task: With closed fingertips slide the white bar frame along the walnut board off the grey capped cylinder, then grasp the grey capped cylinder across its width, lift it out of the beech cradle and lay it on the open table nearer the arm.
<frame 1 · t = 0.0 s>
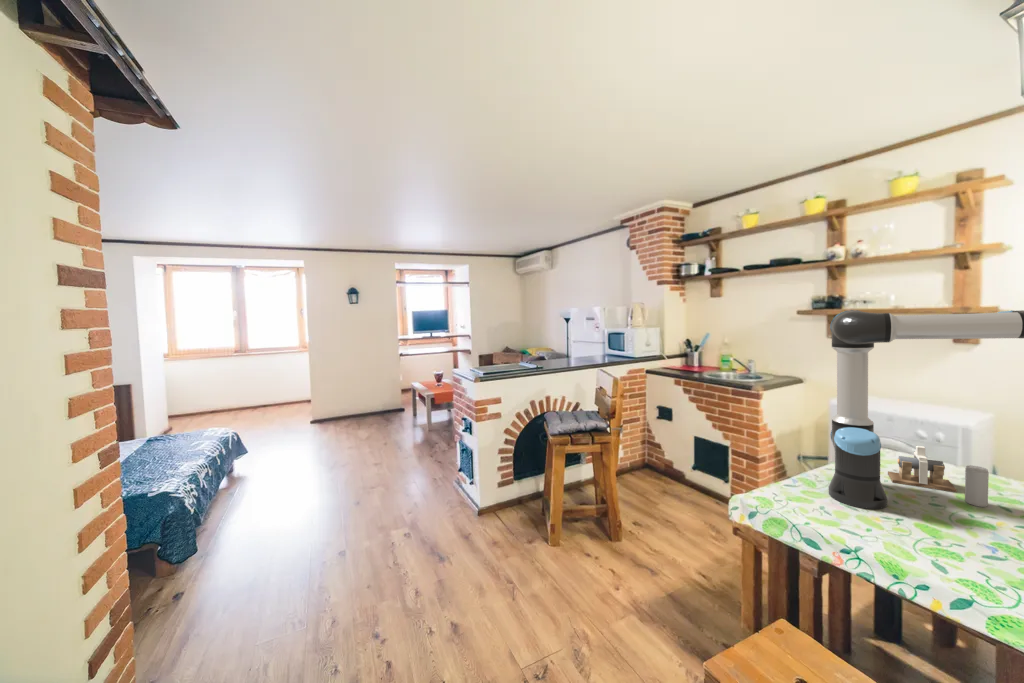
white bar frame: (920, 463, 141), point 7 cm above the table, slide at 0.0 cm
cradle board: (920, 482, 142), on the table
grey capped cylinder: (920, 469, 141), point 5 cm above the table, touching cradle board
beverage can: (976, 504, 125), on the table
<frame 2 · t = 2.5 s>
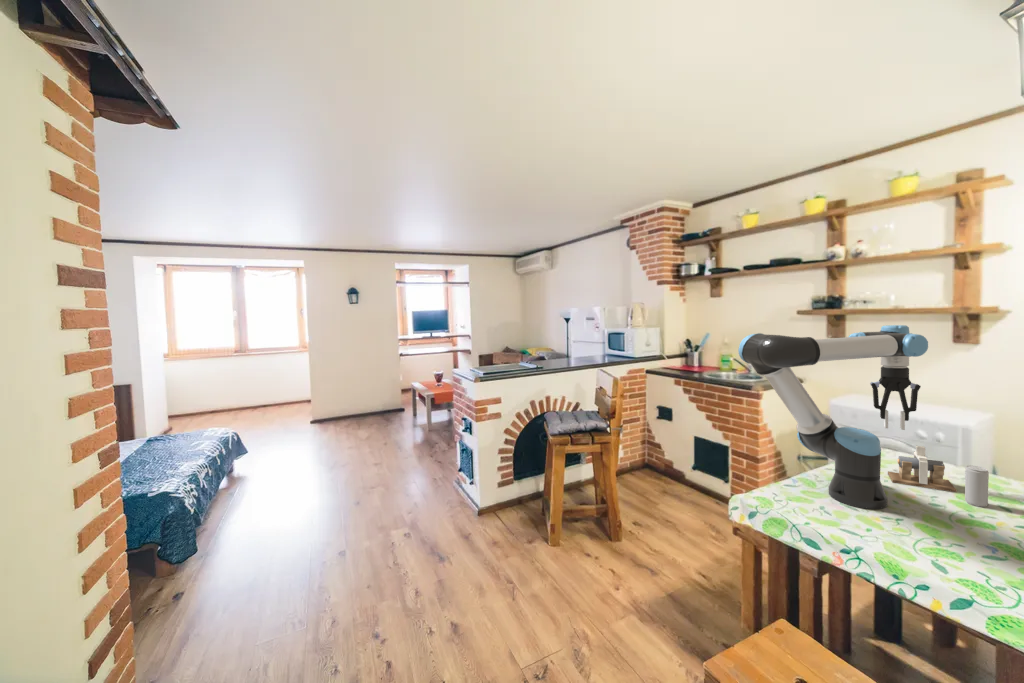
hand: (894, 428, 145), 20 cm above the table, fingers open, 4 cm apart
nothing on the table moved.
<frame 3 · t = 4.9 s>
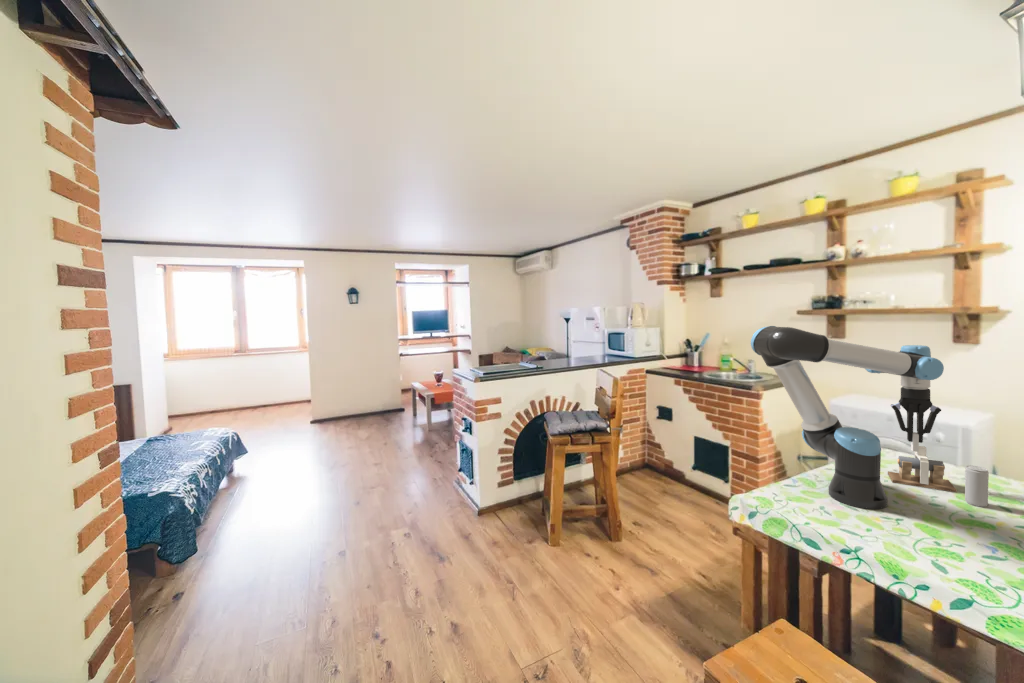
hand: (914, 450, 142), 12 cm above the table, fingers closed
white bar frame: (921, 463, 141), point 7 cm above the table, slide at 0.3 cm, touching gripper
everything else where it was.
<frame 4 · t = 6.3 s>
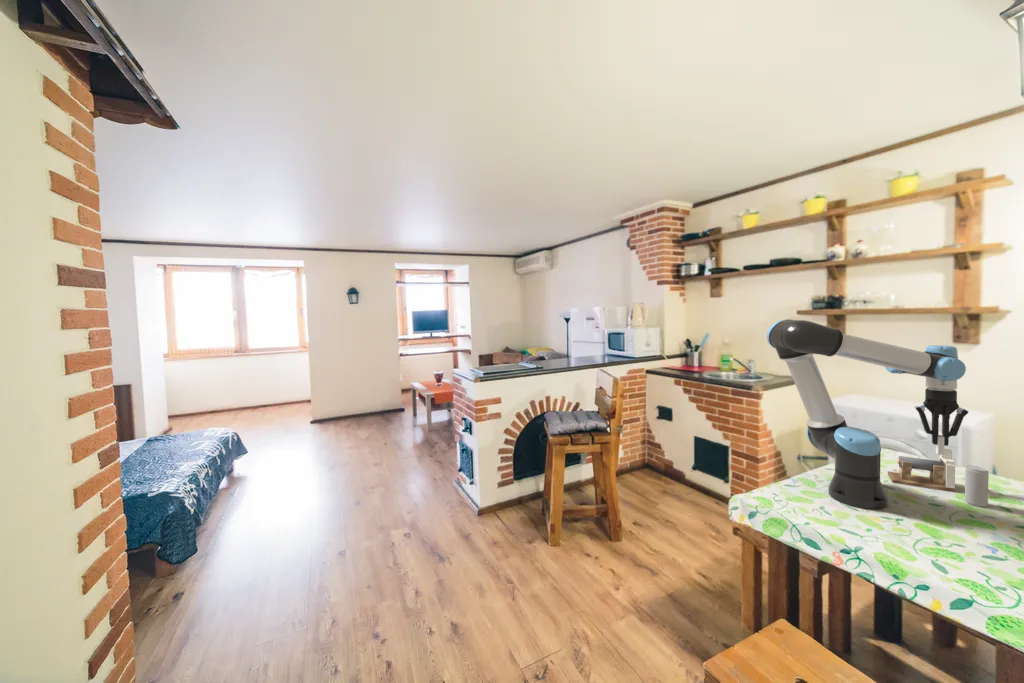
hand: (939, 453, 138), 12 cm above the table, fingers closed
white bar frame: (946, 466, 137), point 7 cm above the table, slide at 6.6 cm, touching gripper
everything else where it was.
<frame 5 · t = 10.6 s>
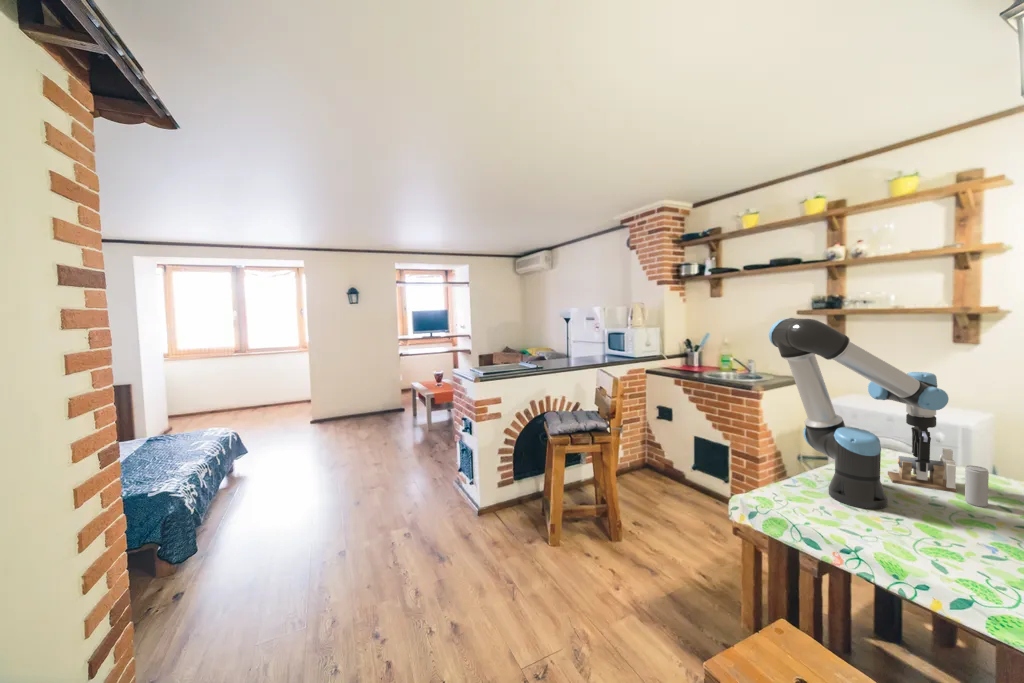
hand: (920, 476, 141), 2 cm above the table, fingers closed on grey capped cylinder, 4 cm apart
white bar frame: (947, 466, 137), point 7 cm above the table, slide at 6.7 cm
grey capped cylinder: (920, 469, 141), point 5 cm above the table, touching cradle board, gripper
everything else where it was.
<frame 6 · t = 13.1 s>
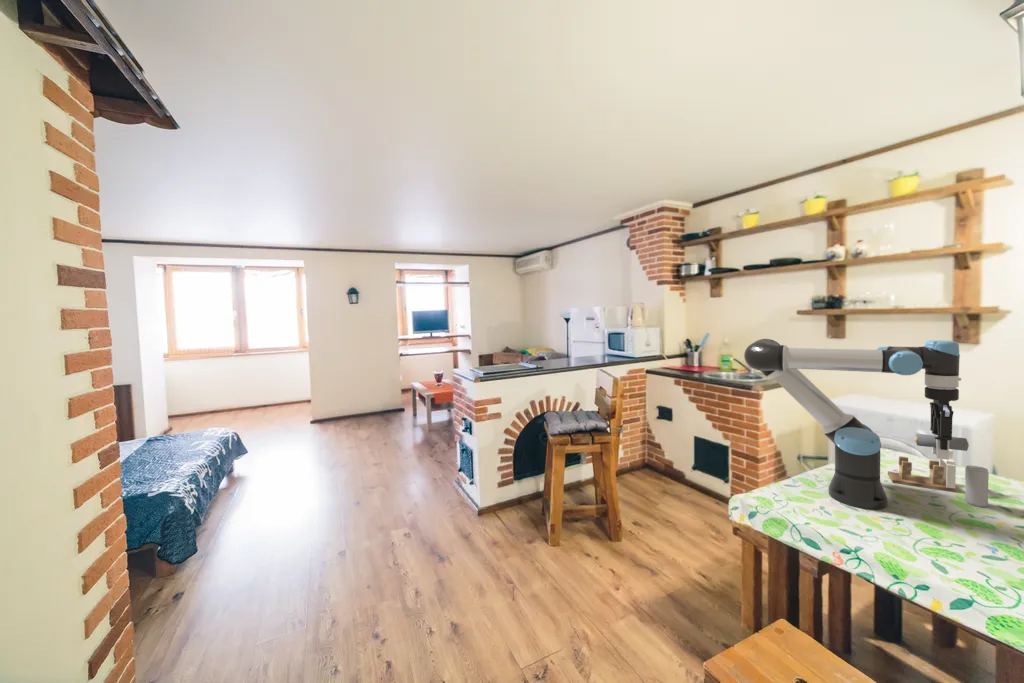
hand: (940, 456, 128), 15 cm above the table, fingers closed on grey capped cylinder, 4 cm apart
grey capped cylinder: (940, 447, 128), point 18 cm above the table, touching gripper
everything else where it was.
when the fingers open (1 cm above the table, at t = 15.8 s): grey capped cylinder drops 4 cm, on the table.
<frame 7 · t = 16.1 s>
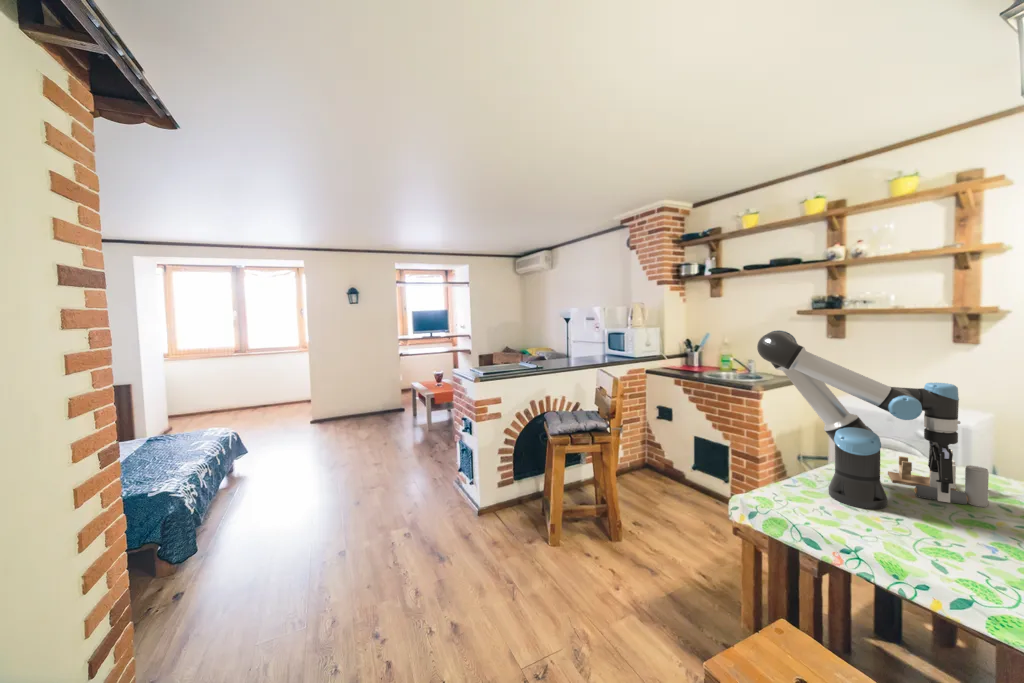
hand: (939, 495, 129), 1 cm above the table, fingers open, 8 cm apart
grey capped cylinder: (940, 500, 129), on the table
everything else where it was.
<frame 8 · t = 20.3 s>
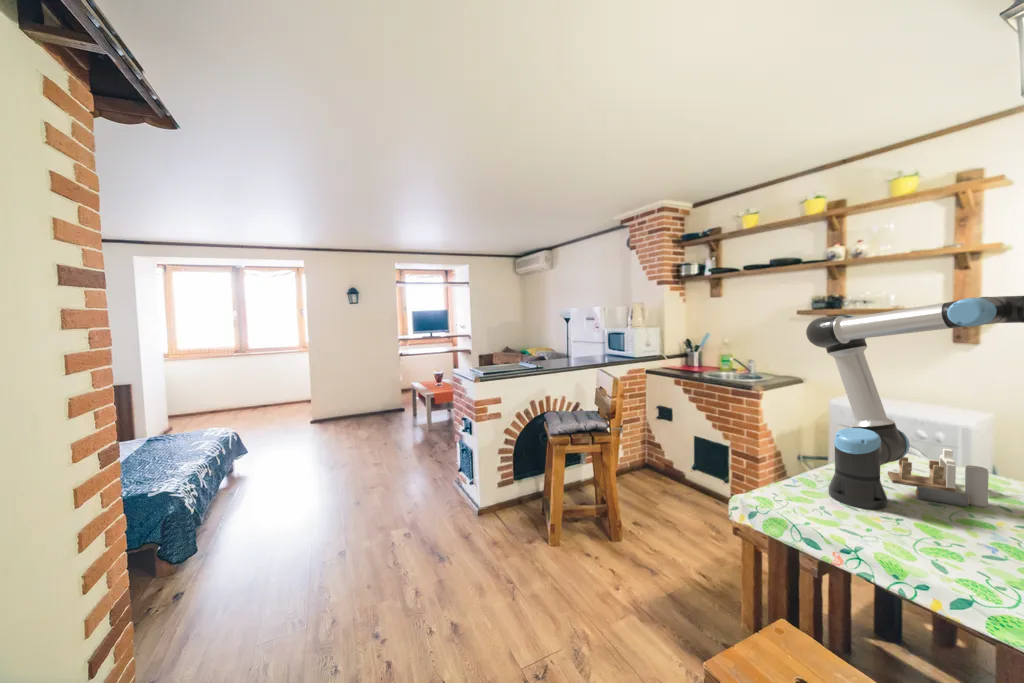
grey capped cylinder: (940, 498, 129), point 1 cm above the table, tilted 52°
everything else where it was.
at the end: white bar frame slide at 6.7 cm; grey capped cylinder inside the target area (0.4 cm from its centre), point 0.5 cm above the table; grey capped cylinder touching table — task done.
